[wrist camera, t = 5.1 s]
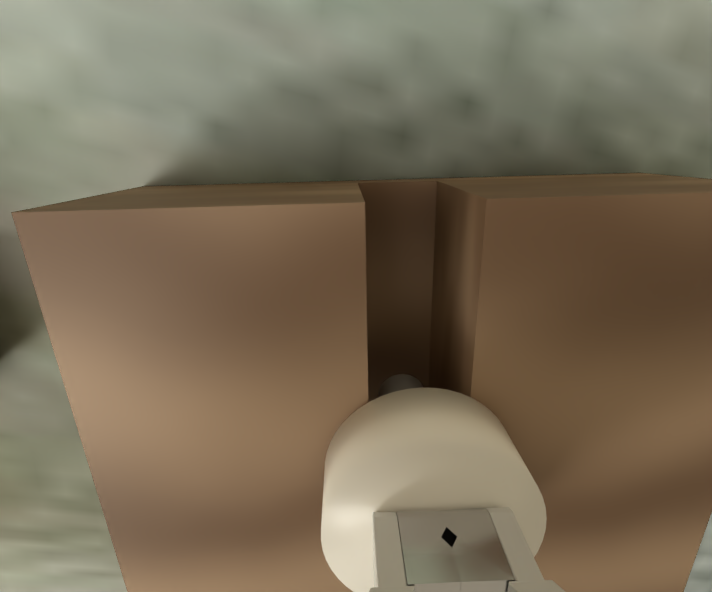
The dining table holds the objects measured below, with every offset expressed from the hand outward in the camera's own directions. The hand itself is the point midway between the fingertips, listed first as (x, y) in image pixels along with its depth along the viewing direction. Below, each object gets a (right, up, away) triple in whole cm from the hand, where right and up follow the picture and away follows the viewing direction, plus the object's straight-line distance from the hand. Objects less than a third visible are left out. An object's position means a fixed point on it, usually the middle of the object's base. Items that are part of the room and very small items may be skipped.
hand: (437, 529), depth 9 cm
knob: (0, +2, +5) cm, 6 cm away
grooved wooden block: (0, -5, +10) cm, 11 cm away
